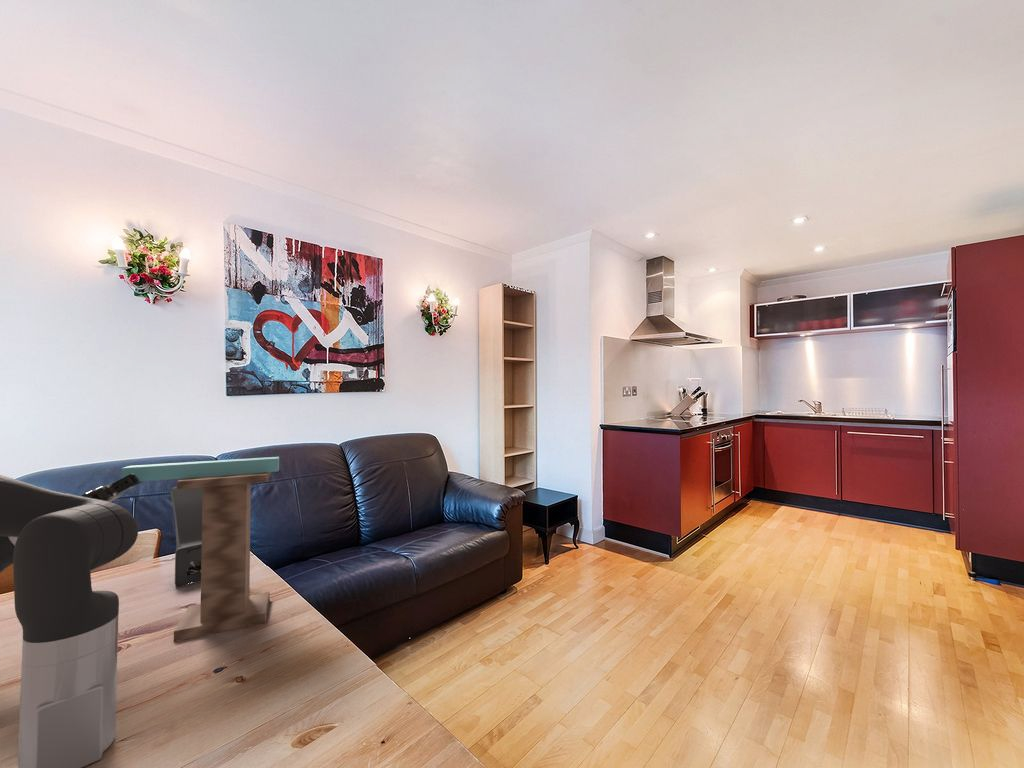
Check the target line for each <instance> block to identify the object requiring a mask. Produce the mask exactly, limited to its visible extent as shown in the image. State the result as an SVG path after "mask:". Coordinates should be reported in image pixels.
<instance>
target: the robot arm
mask: <svg viewBox="0 0 1024 768" xmlns="http://www.w3.org/2000/svg"><path fill="white" fill-rule="evenodd" d="M121 478H122V477H121ZM121 478H120V479H118V480H116V481H111V482H110V483H108V484H106V485H101V486H99V487H97V488H95V489H93V490H89V491H87V492H85V493H83V494H81V496H80V495H76V494H74V493H65V492H59V491H55V490H51V489H47V488H44V487H40V486H38V485H37V486H36V485H34V484H31V483H28V482H25V481H22V480H19V479H16V478H12V477H9V476H5V475H2V474H0V574H1V573H2V572H3V571H4V570H5V569H8V567H10V566H13V567H12V570H13V590H14V595H13V596H14V611H15V615H16V618H17V620H18V622H19V624H20V625H21V627H22V628H21V629H22V641H21V642H22V647H21V666H20V667H21V669H20V671H21V672H20V695H19V718H18V719H19V721H18V722H19V723H18V749H17V751H18V752H17V753H18V754H17V768H84V767H86V766H89V765H90V764H93V763H95V762H97V761H100V760H102V759H103V754H104V752H105V751H106V750H107V749H108V748H109V747H110V746H111V745H112V744H113V742H114V741H115V738H116V728H117V725H116V724H117V722H116V721H117V720H116V719H117V718H116V717H117V688H118V687H117V685H118V684H117V678H118V651H119V650H118V643H119V642H118V641H119V614H120V613H119V611H120V599H119V595H118V593H116V592H114V591H111V590H93V587H92V577H91V576H92V575H91V571H93V570H95V569H97V568H99V567H103V566H105V565H107V564H109V563H112V562H113V561H114V560H117V559H118V558H121V556H123V555H124V554H125V553H127V552H129V551H130V549H131V548H132V547H133V546H134V545H135V544H136V541H137V539H138V537H139V526H138V523H137V521H136V519H135V518H134V516H133V515H132V513H131V512H130V511H128V509H126V508H124V507H123V506H121V505H119V504H118V503H115V502H112V501H115V500H117V499H119V498H120V497H122V496H124V494H125V493H126V492H127V491H130V490H132V489H135V488H134V487H136V486H138V485H139V484H142V482H144V481H142V482H139V479H138V478H137V476H136V475H135V474H130V475H128V476H126V477H124V478H122V479H121Z"/></svg>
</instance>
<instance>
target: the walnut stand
mask: <svg viewBox="0 0 1024 768" xmlns="http://www.w3.org/2000/svg"><path fill="white" fill-rule="evenodd" d="M271 475H272V472H264V473H250V474H237V475H223V476H210V477H196V478H183V479H178V480H177V481H176V487H177V489H187V488H199V487H203V499H202V555H201V581H200V604H195V605H190V606H189V605H188V607H187V609H185V610H186V611H185V612H184V613H183V615H182V616H181V618H180V620H179V622H178V624H177V626H176V628H175V629H174V631H173V642H177V641H183V640H187V639H191V638H196V637H198V638H199V637H201V636H202V637H203V636H207V635H210V634H211V635H212V634H216V633H221V632H227V631H230V630H235V629H236V630H237V629H241V628H246V627H249V626H257V625H260V624H265V623H266V620H267V616H268V609H269V604H270V591H266V592H261V593H256V594H251V595H250V582H251V581H250V579H251V578H250V577H251V570H250V569H251V568H250V567H251V566H250V565H251V562H250V561H251V506H252V503H251V502H252V500H251V499H252V497H251V496H252V495H251V494H252V493H251V491H252V488H251V487H252V484H256V483H258V484H259V483H267V482H268V481H269V478H270V477H271Z"/></svg>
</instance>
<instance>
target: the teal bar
mask: <svg viewBox="0 0 1024 768" xmlns="http://www.w3.org/2000/svg"><path fill="white" fill-rule="evenodd" d="M279 470H280V456H269V457H255V458H254V457H252V458H236V459H235V458H234V459H223V460H222V459H221V460H219V459H218V460H200V461H187V462H186V461H185V462H171V463H170V462H168V463H153V464H139V465H137V464H135V465H133V464H132V465H128V466H124V467H122V468H121V478H120V479H122V478H124V477H126V476H128V475H130V474H135V475H136V476H137V478H138V479H139V482H141V483H142V481H143V482H154V481H165V480H168V481H170V480H180V479H183V478H196V477H210V476H223V475H237V474H250V473H264V472H271V473H275V472H277V473H278V472H279Z"/></svg>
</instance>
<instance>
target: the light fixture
mask: <svg viewBox="0 0 1024 768" xmlns="http://www.w3.org/2000/svg"><path fill="white" fill-rule="evenodd" d="M170 498H171V504H172V510H173V516H174V517H173V518H174V527H175V539H176V540H175V542H176V543H175V544H176V549H175V551H174V552H175V553H174V554H175V555H174V585H175V587H177V588H180V587H183V585H184V586H187V584H188V583H189V584H188V585H191V584H190V583H191V582H193V583H192V584H195V583H194V582H196V583H198V581H200V582H201V555H202V499H203V487H199V488H187V489H177V486H174V487H172V488H171V491H170ZM179 586H180V587H179Z"/></svg>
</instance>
